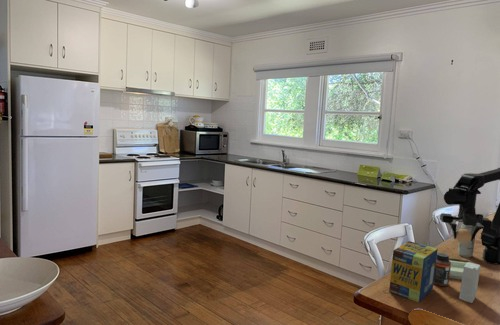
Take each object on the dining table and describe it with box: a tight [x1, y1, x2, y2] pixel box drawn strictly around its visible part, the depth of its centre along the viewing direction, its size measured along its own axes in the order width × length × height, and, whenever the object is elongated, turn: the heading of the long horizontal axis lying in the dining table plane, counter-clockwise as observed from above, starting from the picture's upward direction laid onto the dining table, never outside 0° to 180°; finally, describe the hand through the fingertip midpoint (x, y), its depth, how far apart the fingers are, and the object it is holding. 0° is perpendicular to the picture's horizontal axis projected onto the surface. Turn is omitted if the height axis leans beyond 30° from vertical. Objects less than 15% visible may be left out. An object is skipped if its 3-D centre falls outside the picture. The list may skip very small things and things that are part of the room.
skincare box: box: [458, 262, 481, 304], centre depth 131 cm, size 6×4×12 cm
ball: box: [455, 228, 472, 243], centre depth 161 cm, size 6×6×6 cm
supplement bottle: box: [433, 252, 451, 287], centre depth 143 cm, size 6×6×11 cm
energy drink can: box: [457, 223, 476, 258], centre depth 174 cm, size 6×6×15 cm
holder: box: [449, 257, 473, 263], centre depth 164 cm, size 10×10×1 cm
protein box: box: [388, 240, 438, 303], centre depth 136 cm, size 10×15×16 cm
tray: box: [449, 260, 480, 283], centre depth 153 cm, size 12×12×3 cm
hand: (462, 239), depth 162 cm, fingers closed on ball, 6 cm apart
